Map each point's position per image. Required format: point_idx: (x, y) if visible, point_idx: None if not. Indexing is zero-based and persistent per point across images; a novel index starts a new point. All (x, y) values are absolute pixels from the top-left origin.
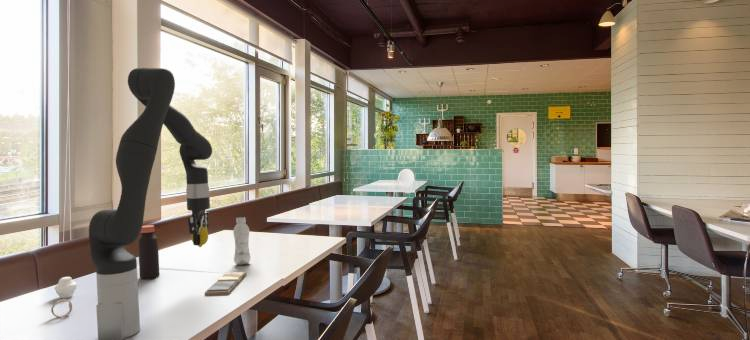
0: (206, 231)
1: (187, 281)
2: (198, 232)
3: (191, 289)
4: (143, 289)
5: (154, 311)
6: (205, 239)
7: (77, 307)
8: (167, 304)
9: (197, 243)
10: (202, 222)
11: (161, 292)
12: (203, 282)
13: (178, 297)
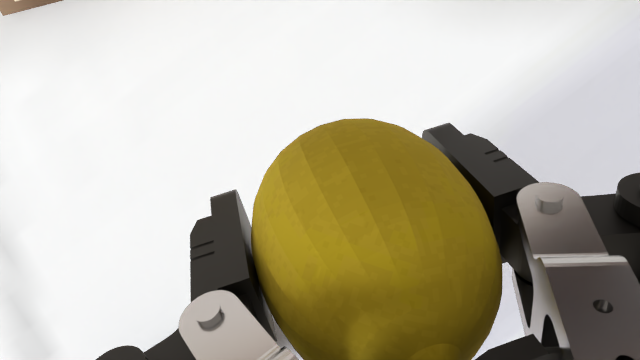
0: (383, 195)
1: (204, 179)
2: (578, 202)
3: (327, 65)
4: None
5: (605, 31)
6: (384, 123)
7: (509, 306)
8: (533, 34)
9: (476, 139)
10: (583, 352)
11: None
12: (198, 78)
13: (446, 48)
